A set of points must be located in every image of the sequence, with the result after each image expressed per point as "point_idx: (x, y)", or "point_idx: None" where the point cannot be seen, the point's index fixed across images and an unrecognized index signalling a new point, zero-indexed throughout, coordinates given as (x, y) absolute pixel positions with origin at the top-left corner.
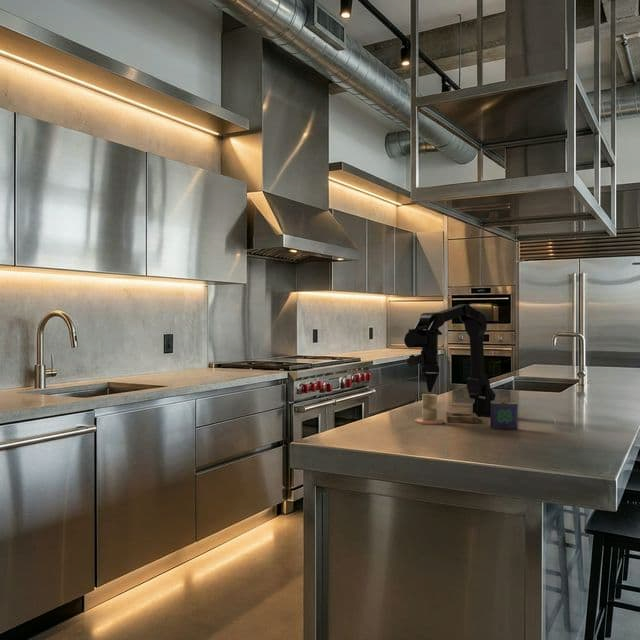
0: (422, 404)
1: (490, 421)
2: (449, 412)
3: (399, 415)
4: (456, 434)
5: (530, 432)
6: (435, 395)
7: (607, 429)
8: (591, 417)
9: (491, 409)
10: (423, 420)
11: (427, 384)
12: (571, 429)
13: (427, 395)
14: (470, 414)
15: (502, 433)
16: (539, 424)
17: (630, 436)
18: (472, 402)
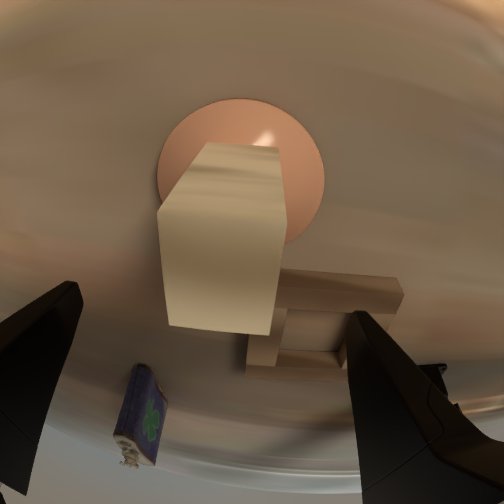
0: (253, 177)
1: (136, 381)
2: (395, 309)
3: (476, 60)
4: (7, 253)
5: None
6: (171, 317)
7: (212, 474)
8: (336, 479)
9: (121, 416)
10: (197, 147)
11: (7, 324)
12: (196, 454)
13: (162, 256)
14: (335, 367)
15: (82, 363)
16: (249, 442)
17: (156, 468)
18: (446, 396)
